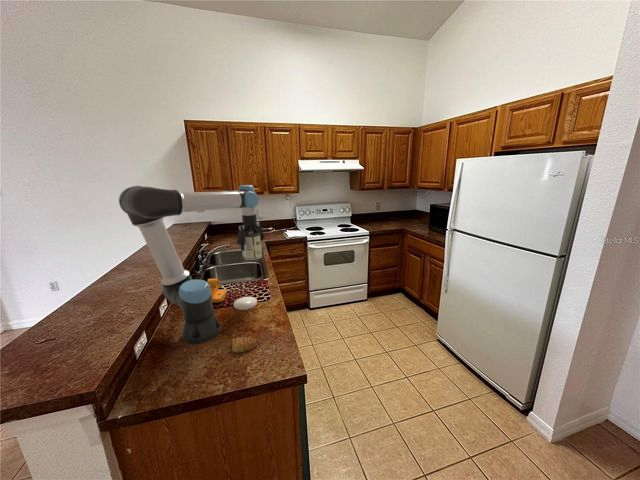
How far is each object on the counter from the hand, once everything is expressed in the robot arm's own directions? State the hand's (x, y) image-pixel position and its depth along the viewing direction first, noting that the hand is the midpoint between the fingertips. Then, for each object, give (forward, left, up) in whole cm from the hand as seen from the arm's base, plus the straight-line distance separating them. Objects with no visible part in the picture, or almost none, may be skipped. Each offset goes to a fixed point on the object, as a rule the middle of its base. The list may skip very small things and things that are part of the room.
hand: (252, 253), depth 146 cm
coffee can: (0, 0, -2) cm, 2 cm away
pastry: (-36, -35, -24) cm, 55 cm away
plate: (-13, -7, -23) cm, 28 cm away
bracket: (-18, +11, -24) cm, 32 cm away
